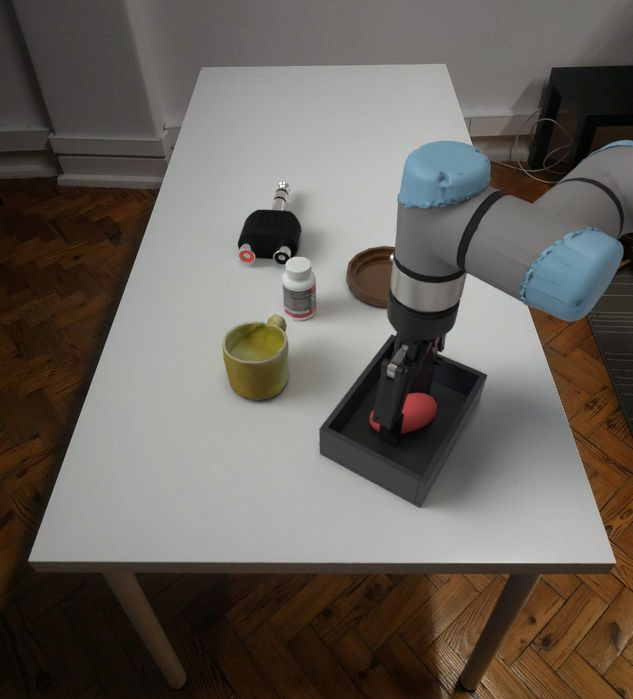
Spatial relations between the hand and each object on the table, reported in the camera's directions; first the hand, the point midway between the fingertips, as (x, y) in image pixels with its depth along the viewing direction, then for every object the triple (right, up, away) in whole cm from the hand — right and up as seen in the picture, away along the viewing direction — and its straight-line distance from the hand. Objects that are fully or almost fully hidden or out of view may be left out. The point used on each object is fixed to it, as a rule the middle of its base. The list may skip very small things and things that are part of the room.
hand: (404, 417), depth 75 cm
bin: (0, -1, +1) cm, 2 cm away
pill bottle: (-15, +16, +18) cm, 28 cm away
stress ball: (0, -1, +1) cm, 1 cm away
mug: (-20, +6, +9) cm, 22 cm away
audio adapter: (-20, +33, +34) cm, 51 cm away
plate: (+1, +21, +22) cm, 30 cm away
